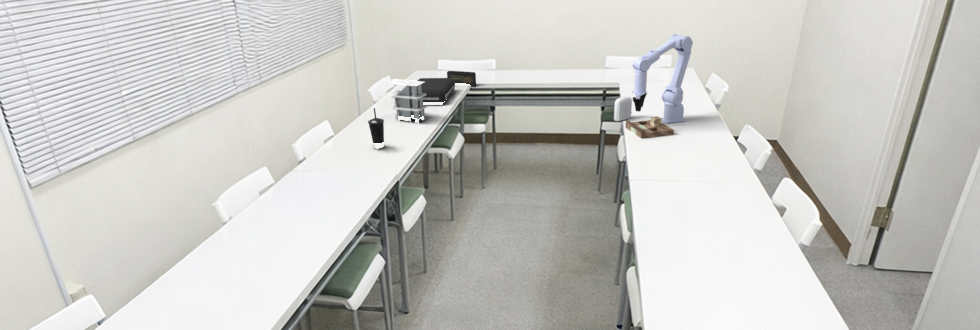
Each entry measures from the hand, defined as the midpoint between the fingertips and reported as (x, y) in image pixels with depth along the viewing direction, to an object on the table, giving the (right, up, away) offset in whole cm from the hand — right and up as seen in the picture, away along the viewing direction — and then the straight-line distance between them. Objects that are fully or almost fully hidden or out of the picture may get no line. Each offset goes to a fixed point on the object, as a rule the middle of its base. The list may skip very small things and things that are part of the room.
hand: (639, 109), depth 289 cm
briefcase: (-116, +14, +76) cm, 139 cm away
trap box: (+4, -11, -2) cm, 12 cm away
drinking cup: (-130, -20, -7) cm, 132 cm away
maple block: (+8, -9, -3) cm, 12 cm away
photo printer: (-4, -4, +17) cm, 18 cm away
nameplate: (-95, +26, +102) cm, 142 cm away
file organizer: (-122, -3, +34) cm, 126 cm away
